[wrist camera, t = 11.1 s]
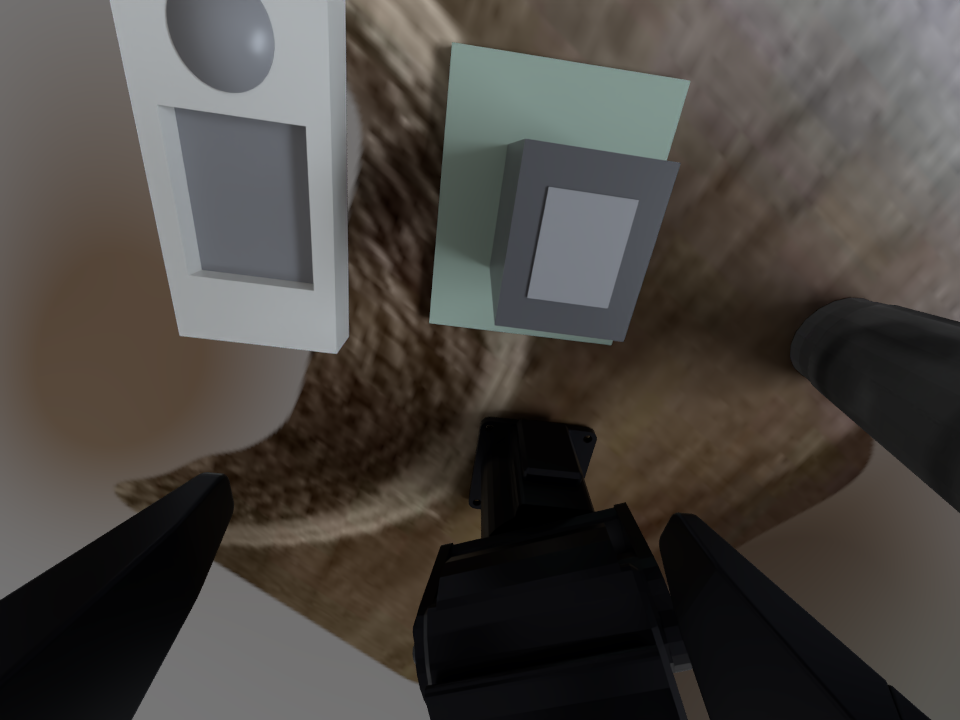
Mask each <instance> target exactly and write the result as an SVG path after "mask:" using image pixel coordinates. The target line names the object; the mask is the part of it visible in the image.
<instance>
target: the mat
mask: <svg viewBox="0 0 960 720" xmlns="http://www.w3.org/2000/svg"><path fill="white" fill-rule="evenodd" d="M689 84H690V81H688V80H682V79H676V78H670V77H664V76H657V75H651V74H645V73H639V72H633V71H627V70H620V69H614V68H608V67H602V66H596V65H589V64H583V63H577V62H571V61H565V60H559V59H552V58H546V57H540V56H534V55H528V54H521V53H515V52H509V51H503V50H497V49H491V48H484V47H478V46H472V45H466V44H460V43H453V42H452V50H451V62H450V75H449V87H448V99H447V111H446V124H445V136H444V148H443V160H442V173H441V185H440V197H439V209H438V221H437V234H436V246H435V258H434V270H433V283H432V295H431V307H430V319H429V323H433V324H441V325H449V326H457V327H466V328H474V329H482V330H490V331H499V332H507V333H515V334H523V335H532V336H540V337H548V338H556V339H565V340H573V341H581V342H589V343H598V344H606V345H612V341H613V340H605V339H597V338H590V337H582V336H574V335H566V334H558V333H551V332H543V331H535V330H527V329H519V328H512V327H504V326H496V325H495V324H494V313H493V301H492V290H491V279H490V262H491V255H492V248H493V241H494V235H495V228H496V221H497V214H498V208H499V201H500V194H501V188H502V181H503V174H504V167H505V161H506V154H507V147H508V144H510V143H513V142H516V141H519V140H522V139H532V140H538V141H544V142H551V143H557V144H563V145H570V146H576V147H583V148H589V149H595V150H602V151H608V152H614V153H621V154H627V155H634V156H640V157H646V158H653V159H659V160H665V161H667V158H668V154H669V151H670V148H671V144H672V141H673V138H674V134H675V131H676V128H677V124H678V121H679V117H680V114H681V111H682V107H683V104H684V101H685V97H686V94H687V91H688V87H689Z"/></svg>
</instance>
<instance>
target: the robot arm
mask: <svg viewBox="0 0 960 720" xmlns="http://www.w3.org/2000/svg"><path fill="white" fill-rule="evenodd" d="M487 425H492V426H493V427H492V428H487V427H486V426H487ZM585 436H590V437H589V438H586V439H585V438H584V437H585ZM596 440H597V437H596V434H595V432H594V430H593V429H591V428H587V427H578V426H568V425H565V424H560V423H551V422H541V421H532V420H523V419H522V420H513V419H504V418H495V417H487V418H484V419H483V420H482V421H481V424H480V430H479V437H478V443H477V449H476V456H475V462H474V468H473V474H472V481H471V487H470V493H469V505H470V506H471V507H472V508H475V509H481V539H476V540H472V541H468V542H464V543H459V544H455V545H454V544H453V543H449V544H445V545H441V547H440V549H439V552H438V555H437V558H436V561H435V564H434V566H433V569H432V572H431V575H430V578H429V580H428V583H427V586H426V589H425V592H424V594H423V597H422V600H421V603H420V606H419V609H418V613H417V617H416V619H415V622H414V625H413V637H414V647H413V660H414V662H415V664H416V670H417V677H418V681H419V686H420V690H421V692H422V696H423V698H424V701H425V703H426V705H427V708H428V712H429V715H430V719H431V720H688V719H687V716H686V713H685V710H684V706H683V703H682V700H681V697H680V694H679V691H678V688H677V684H676V681H675V678H674V675H673V672H674V673H675V672H681V671H686V670H691V669H692V668H693V671H694V674H695V677H696V680H697V683H698V686H699V689H700V692H701V694H702V697H703V700H704V703H705V706H706V709H707V712H708V715H709V718H710V720H931V719H930V718H929V717H927V716H926V715H925V714H924V713H922V712H921V711H920V710H919V709H918V708H917V707H916V706H915V705H913V704H912V703H911V702H910V701H909V700H908V699H907V698H905V697H904V696H903V695H902V694H901V693H900V692H899V691H897V690H896V689H895V688H894V687H893V686H891V685H888V684H887V682H886V680H885V679H883V678H882V677H881V676H880V675H879V674H878V673H876V672H875V671H874V670H873V669H872V668H871V667H870V666H868V665H867V664H866V663H865V662H864V661H863V660H861V658H859V657H858V656H857V655H856V654H855V653H854V652H852V651H851V650H850V649H849V648H848V647H847V646H846V645H844V644H843V643H842V642H841V641H840V640H839V639H838V638H836V637H835V636H834V635H833V634H832V633H831V632H830V631H828V630H827V629H826V628H825V627H824V626H823V625H821V624H820V623H819V622H818V621H817V620H816V619H815V618H814V617H812V616H811V615H810V614H809V613H808V612H807V611H805V610H804V609H803V608H802V607H801V606H800V605H799V604H797V603H796V602H795V601H794V600H793V599H792V598H791V597H789V596H788V595H787V594H786V593H785V592H784V591H782V590H781V589H780V588H779V587H778V586H777V585H776V584H774V583H773V582H772V581H771V580H770V579H769V578H768V577H766V576H765V575H764V574H763V573H762V572H761V571H760V570H758V569H757V568H756V567H755V566H754V565H753V564H752V563H750V562H749V561H748V560H747V559H746V558H744V556H742V555H741V554H740V553H739V552H738V551H737V550H736V549H734V548H733V547H732V546H731V545H730V544H729V543H728V542H726V541H725V540H724V539H723V538H722V537H721V536H720V535H718V534H717V533H716V532H715V531H714V530H713V529H711V528H710V527H709V526H708V525H707V524H706V523H705V522H703V521H702V520H701V519H700V518H699V517H698V516H696V515H694V514H689V513H675V514H673V515H672V516H671V518H670V520H669V521H668V523H667V525H666V527H665V529H664V531H663V532H662V534H661V536H660V540H659V548H660V553H661V557H662V561H663V565H664V569H665V574H666V578H667V582H668V586H669V590H670V593H669V591H668V588H667V586H666V583H665V581H664V578H663V576H662V573H661V571H660V569H659V566H658V564H657V562H656V560H655V558H654V556H653V554H652V552H651V550H650V548H649V546H648V544H647V542H646V541H645V539H644V537H643V535H642V533H641V531H640V529H639V527H638V525H637V523H636V521H635V519H634V517H633V515H632V513H631V512H630V510H629V508H628V506H627V504H626V502H625V503H620V504H616V505H614V508H609V509H605V510H601V511H597V512H595V511H594V508H593V505H592V502H591V499H590V496H589V493H588V489H587V486H586V483H585V480H584V478H585V475H586V472H587V469H588V466H589V462H590V459H591V456H592V453H593V450H594V447H595V444H596ZM477 499H478V500H479V501H475V500H477ZM233 510H234V501H233V496H232V491H231V487H230V482H229V479H228V477H227V476H226V475H225V474H220V473H209V472H206V473H202V474H199V475H198V476H196V477H194V478H193V479H191V480H190V481H188V482H186V483H185V484H183V485H182V486H180V487H179V488H177V489H175V490H174V491H172V492H171V493H169V494H167V495H166V496H164V497H163V498H161V499H159V500H158V501H156V502H155V503H153V504H152V505H150V506H148V507H147V508H145V509H144V510H142V511H140V512H139V513H137V514H136V515H134V516H133V517H131V518H129V519H128V520H126V521H125V522H123V523H121V524H120V525H118V526H117V527H115V528H113V529H112V530H110V531H109V532H107V533H106V534H104V535H102V536H101V537H99V538H98V539H96V540H95V541H93V542H91V543H90V544H88V545H87V546H85V547H83V548H82V549H80V550H79V551H77V552H75V553H74V554H72V555H71V556H69V557H68V558H66V559H64V560H63V561H61V562H60V563H58V564H56V565H55V566H53V567H52V568H50V569H48V570H47V571H45V572H44V573H42V574H41V575H39V576H38V577H36V578H34V579H33V580H31V581H30V582H28V583H26V584H25V585H23V586H22V587H20V588H18V589H17V590H15V591H14V592H12V593H11V594H9V595H7V596H6V597H4V598H3V599H1V600H0V720H132V718H133V717H134V715H135V713H136V711H137V709H138V707H139V705H140V704H141V702H142V700H143V698H144V696H145V694H146V692H147V691H148V689H149V687H150V685H151V683H152V681H153V679H154V678H155V676H156V674H157V672H158V670H159V668H160V666H161V665H162V663H163V661H164V659H165V657H166V655H167V653H168V652H169V650H170V648H171V646H172V644H173V642H174V641H175V639H176V637H177V635H178V633H179V631H180V629H181V628H182V625H183V624H184V622H185V620H186V618H187V616H188V614H189V613H190V611H191V609H192V607H193V605H194V603H195V601H196V599H197V597H198V595H199V593H200V591H201V588H202V586H203V584H204V582H205V579H206V577H207V575H208V572H209V570H210V567H211V565H212V562H213V560H214V558H215V555H216V553H217V550H218V548H219V546H220V543H221V541H222V538H223V536H224V534H225V531H226V529H227V526H228V524H229V522H230V519H231V517H232V514H233ZM670 595H671V596H670Z"/></svg>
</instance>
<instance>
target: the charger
mask: <svg viewBox="0 0 960 720" xmlns="http://www.w3.org/2000/svg"><path fill="white" fill-rule="evenodd" d="M680 164H681V163H678V162H672V161H665V160H659V159H653V158H646V157H640V156H634V155H627V154H621V153H614V152H608V151H602V150H595V149H589V148H583V147H576V146H570V145H563V144H557V143H551V142H544V141H538V140H532V139H522V140H519V141H516V142H513V143H510V144H508V147H507V154H506V161H505V167H504V174H503V181H502V188H501V194H500V201H499V208H498V214H497V221H496V228H495V235H494V241H493V248H492V255H491V262H490V279H491V290H492V301H493V313H494V324H495V325H496V326H504V327H512V328H519V329H527V330H535V331H543V332H551V333H558V334H566V335H574V336H582V337H590V338H597V339H605V340H613V341H621V342H624V339H625V336H626V333H627V330H628V326H629V323H630V320H631V317H632V314H633V311H634V308H635V305H636V301H637V298H638V295H639V292H640V289H641V286H642V283H643V279H644V276H645V273H646V270H647V267H648V264H649V261H650V258H651V254H652V251H653V248H654V245H655V242H656V239H657V236H658V233H659V229H660V226H661V223H662V220H663V217H664V214H665V211H666V207H667V204H668V201H669V198H670V195H671V192H672V189H673V186H674V182H675V179H676V176H677V173H678V170H679V167H680Z"/></svg>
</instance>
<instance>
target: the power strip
mask: <svg viewBox="0 0 960 720" xmlns="http://www.w3.org/2000/svg"><path fill="white" fill-rule="evenodd" d="M110 5H111V9H112V15H113V19H114V24H115V29H116V33H117V39H118V43H119V48H120V53H121V58H122V63H123V67H124V72H125V77H126V81H127V86H128V91H129V96H130V100H131V105H132V110H133V115H134V119H135V125H136V130H137V134H138V139H139V144H140V149H141V153H142V158H143V163H144V168H145V173H146V177H147V182H148V187H149V192H150V197H151V201H152V206H153V211H154V216H155V220H156V225H157V230H158V235H159V240H160V244H161V249H162V254H163V259H164V263H165V268H166V273H167V277H168V282H169V287H170V292H171V297H172V302H173V307H174V312H175V316H176V321H177V326H178V331H179V335H180V336H186V337H195V338H204V339H212V340H222V341H230V342H238V343H248V344H256V345H264V346H273V347H282V348H290V349H299V350H308V351H316V352H325V353H334V354H337V353H338V351H339V350H340V349H341V347H342V346H343V344H344V343H345V342H346V340H347V339H348V337H349V294H348V202H347V115H346V114H347V110H346V18H345V0H110Z"/></svg>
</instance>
